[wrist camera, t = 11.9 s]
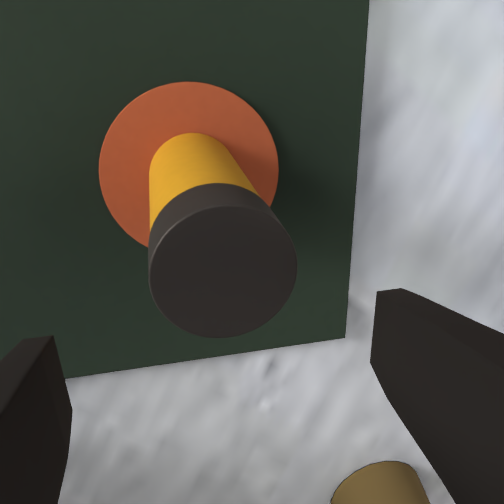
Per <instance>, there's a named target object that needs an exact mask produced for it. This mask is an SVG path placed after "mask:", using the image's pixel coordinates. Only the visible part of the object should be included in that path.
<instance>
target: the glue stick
mask: <svg viewBox="0 0 504 504" xmlns="http://www.w3.org/2000/svg"><path fill="white" fill-rule="evenodd" d="M149 202H150V235H149V241H148V281H149V287H150V292H151V295H152V298H153V300H154V302H155V304H156V306H157V307H158V309H159V310H160V312H161V313H162V314H163V315H164V316H165V317H166V318H167V320H169V321H170V322H171V323H172V324H174V325H175V326H177V327H178V328H180V329H182V330H183V331H186V332H188V333H190V334H193V335H197V336H201V337H206V338H228V337H235V336H238V335H242V334H245V333H248V332H250V331H253V330H255V329H257V328H259V327H260V326H262V325H263V324H265V323H266V322H268V321H269V320H270V319H272V318H273V317H274V316H275V315H276V314H277V313H278V312H279V311H280V310H281V309H282V307H283V306H284V305H285V303H286V302H287V300H288V298H289V297H290V295H291V293H292V290H293V288H294V285H295V281H296V277H297V269H298V267H297V255H296V250H295V247H294V244H293V242H292V240H291V238H290V236H289V234H288V233H287V231H286V230H285V228H284V227H283V226H282V224H281V223H280V221H279V220H278V218H277V217H276V216H275V214H274V213H273V211H272V210H271V208H270V207H269V206H268V205H267V204H266V202H265V201H264V200H263V199H261V197H260V196H259V194H258V193H257V192H256V190H255V189H254V187H253V186H252V184H251V183H250V181H249V180H248V179H247V177H246V176H245V174H244V173H243V171H242V170H241V168H240V167H239V165H238V164H237V163H236V161H235V160H234V158H233V157H232V155H231V154H230V152H229V151H228V149H227V148H226V147H225V146H224V145H223V144H222V143H221V142H219V141H218V140H216V139H215V138H213V137H211V136H208V135H205V134H200V133H185V134H181V135H178V136H175V137H173V138H171V139H169V140H168V141H166V142H165V143H164V144H163V145H162V146H161V147H160V148H159V149H158V150H157V152H156V153H155V155H154V157H153V159H152V161H151V165H150V170H149Z"/></svg>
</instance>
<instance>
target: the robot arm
mask: <svg viewBox="0 0 504 504" xmlns="http://www.w3.org/2000/svg"><path fill="white" fill-rule="evenodd" d="M370 363H371V365H372V368H373V370H374V372H375V374H376V376H377V378H378V381H379V383H380V385H381V387H382V389H383V391H384V393H385V395H386V397H387V399H388V400H389V402H390V403H391V405H392V407H393V408H394V410H395V411H396V413H397V414H398V416H399V417H400V419H401V420H402V422H403V423H404V425H405V426H406V428H407V429H408V431H409V432H410V434H411V435H412V437H413V438H414V440H415V441H416V443H417V444H418V446H419V447H420V449H421V450H422V452H423V453H424V455H425V456H426V458H427V459H428V461H429V462H430V464H431V465H432V467H433V468H434V470H435V471H436V473H437V474H438V476H439V477H440V479H441V480H442V482H443V483H444V485H445V487H446V488H447V490H448V492H449V493H450V495H451V497H452V498H453V500H454V501H455V503H456V504H504V334H503V333H501V332H498V331H496V330H494V329H491V328H489V327H487V326H485V325H483V324H480V323H478V322H476V321H474V320H472V319H469V318H467V317H465V316H463V315H461V314H459V313H457V312H454V311H452V310H450V309H448V308H446V307H444V306H442V305H440V304H437V303H435V302H433V301H431V300H429V299H427V298H424V297H422V296H420V295H417V294H415V293H413V292H410V291H408V290H405V289H402V288H399V289H392V290H384V291H377V296H376V306H375V316H374V326H373V337H372V347H371V357H370ZM71 422H72V406H71V403H70V399H69V395H68V391H67V387H66V383H65V379H64V375H63V371H62V367H61V363H60V359H59V355H58V351H57V347H56V343H55V339H54V335H50V336H43V337H36V338H28V339H22V340H21V341H20V342H19V343H18V344H17V345H16V346H15V347H14V348H13V349H12V350H11V351H10V352H9V353H8V354H7V355H6V356H5V357H4V358H3V359H2V360H1V361H0V504H58V499H59V495H60V490H61V486H62V482H63V477H64V473H65V468H66V463H67V459H68V453H69V443H70V434H71Z"/></svg>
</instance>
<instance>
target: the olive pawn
mask: <svg viewBox="0 0 504 504" xmlns="http://www.w3.org/2000/svg"><path fill="white" fill-rule="evenodd" d="M331 504H430V502H429V500H428V497H427V495H426V493H425V491H424V488H423V486H422V484H421V482H420V479H419V477H418V475H417V473H416V471H415V470H414V469H413V468H411V467H410V466H409V465H407V464H404V463H401V462H397V461H384V462H380V463H376V464H371V465H369V466H366V467H364V468H362V469H360V470H358V471H356V472H355V473H353V474H352V475H351V476H349V477H348V478H347V479H345V480H344V481H343V482H342V484H341V485H340V486H339V487H338V488H337V490H336V491H335V493H334V496H333V498H332V501H331Z"/></svg>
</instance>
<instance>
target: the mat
mask: <svg viewBox="0 0 504 504" xmlns="http://www.w3.org/2000/svg"><path fill="white" fill-rule="evenodd" d="M368 13H369V0H0V361H1V360H2V359H3V358H4V357H5V356H6V355H7V354H8V353H9V352H10V351H11V350H12V349H13V348H14V347H15V346H16V345H17V344H18V343H19V342H20V341H21V340H22V339H28V338H36V337H43V336H50V335H54V339H55V343H56V347H57V351H58V355H59V359H60V363H61V367H62V371H63V375H64V379H66V378H73V377H80V376H87V375H94V374H101V373H108V372H114V371H121V370H128V369H135V368H142V367H149V366H155V365H162V364H169V363H176V362H183V361H190V360H196V359H203V358H210V357H217V356H224V355H231V354H238V353H244V352H251V351H258V350H265V349H272V348H279V347H285V346H292V345H299V344H306V343H313V342H320V341H326V340H333V339H340V338H345V332H346V318H347V305H348V291H349V277H350V263H351V249H352V235H353V221H354V207H355V193H356V180H357V166H358V152H359V138H360V124H361V110H362V96H363V82H364V68H365V55H366V41H367V27H368ZM185 133H200V134H205V135H208V136H211V137H213V138H215V139H216V140H218V141H219V142H221V143H222V144H223V145H224V146H225V147H226V148H227V149H228V151H229V152H230V154H231V155H232V157H233V158H234V160H235V161H236V163H237V164H238V165H239V167H240V168H241V170H242V171H243V173H244V174H245V176H246V177H247V179H248V180H249V181H250V183H251V184H252V186H253V187H254V189H255V190H256V192H257V193H258V194H259V196H260V197H261V199H263V200H264V201H265V202H266V204H267V205H268V206H269V207H270V208H271V210H272V211H273V213H274V214H275V216H276V217H277V218H278V220H279V221H280V223H281V224H282V226H283V227H284V228H285V230H286V231H287V233H288V234H289V236H290V238H291V240H292V242H293V244H294V247H295V250H296V255H297V267H298V269H297V277H296V281H295V285H294V288H293V290H292V293H291V295H290V297H289V298H288V300H287V302H286V303H285V305H284V306H283V307H282V309H281V310H280V311H279V312H278V313H277V314H276V315H275V316H274V317H273V318H272V319H270V320H269V321H268V322H266V323H265V324H263V325H262V326H260V327H259V328H257V329H255V330H253V331H250V332H248V333H245V334H242V335H238V336H235V337H228V338H206V337H201V336H197V335H193V334H190V333H188V332H186V331H183V330H182V329H180V328H178V327H177V326H175V325H174V324H172V323H171V322H170V321H169V320H167V318H166V317H165V316H164V315H163V314H162V313H161V312H160V310H159V309H158V307H157V306H156V304H155V302H154V300H153V298H152V295H151V292H150V287H149V281H148V241H149V235H150V202H149V170H150V165H151V161H152V159H153V157H154V155H155V153H156V152H157V150H158V149H159V148H160V147H161V146H162V145H163V144H164V143H165V142H166V141H168V140H169V139H171V138H173V137H175V136H178V135H181V134H185Z"/></svg>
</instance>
